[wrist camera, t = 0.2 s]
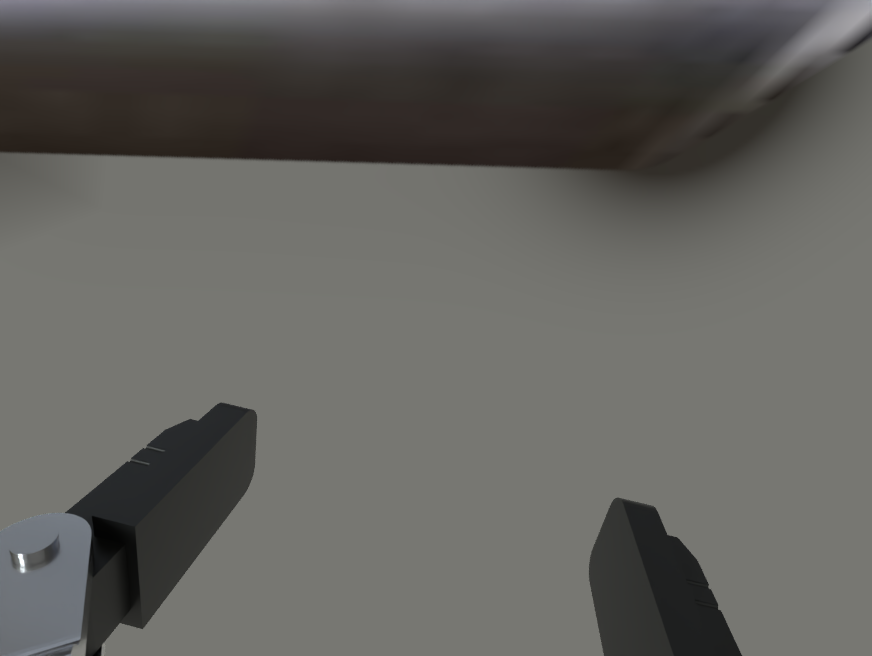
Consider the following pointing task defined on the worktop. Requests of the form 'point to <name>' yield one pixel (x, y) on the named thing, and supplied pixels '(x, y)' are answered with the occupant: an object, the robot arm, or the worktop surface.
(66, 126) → the worktop surface
